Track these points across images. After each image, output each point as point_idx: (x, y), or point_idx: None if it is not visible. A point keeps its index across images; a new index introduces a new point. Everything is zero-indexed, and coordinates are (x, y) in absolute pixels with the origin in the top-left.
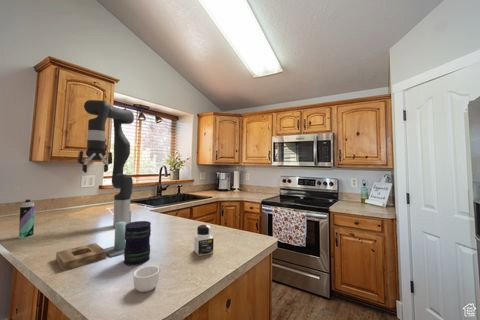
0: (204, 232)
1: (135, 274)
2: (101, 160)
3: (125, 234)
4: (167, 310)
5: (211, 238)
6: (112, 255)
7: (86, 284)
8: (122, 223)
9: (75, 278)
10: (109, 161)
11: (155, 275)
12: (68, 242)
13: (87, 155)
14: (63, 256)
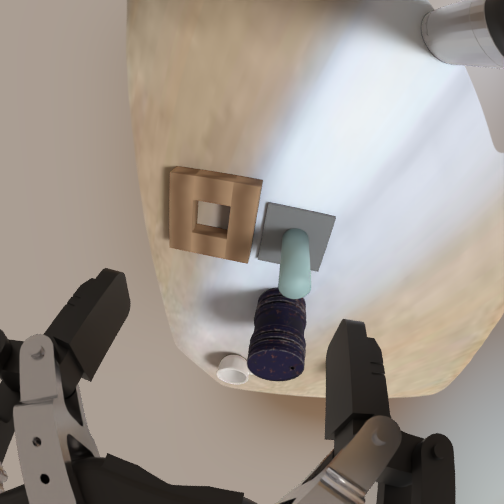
0: None
1: (220, 370)
2: (298, 495)
3: (249, 345)
4: (226, 384)
5: None
6: (262, 259)
7: (189, 305)
8: (292, 296)
9: (183, 279)
10: (382, 487)
11: (235, 382)
12: (241, 46)
13: (26, 491)
14: (175, 214)
